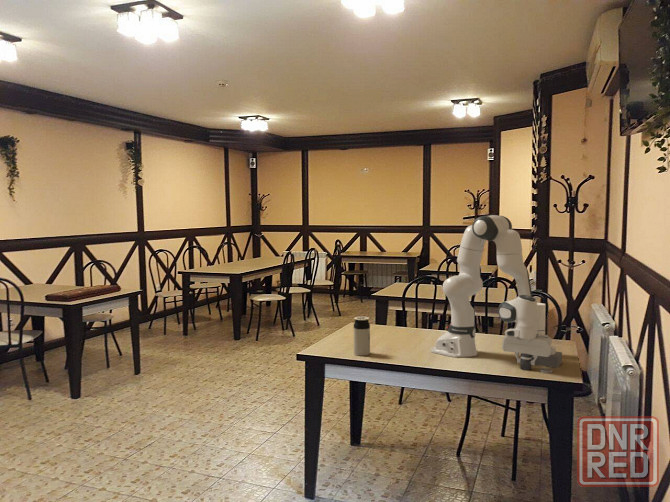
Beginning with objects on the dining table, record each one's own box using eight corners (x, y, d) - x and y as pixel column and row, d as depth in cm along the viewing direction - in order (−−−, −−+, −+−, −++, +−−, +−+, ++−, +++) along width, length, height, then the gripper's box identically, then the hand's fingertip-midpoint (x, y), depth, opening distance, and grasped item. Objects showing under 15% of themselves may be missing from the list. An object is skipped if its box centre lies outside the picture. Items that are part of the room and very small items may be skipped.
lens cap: (538, 372, 221) (538, 370, 220) (541, 369, 225) (541, 367, 225) (550, 374, 218) (550, 372, 218) (553, 371, 222) (553, 369, 222)
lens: (519, 369, 224) (519, 353, 224) (522, 366, 228) (522, 351, 228) (529, 371, 222) (530, 355, 221) (532, 368, 225) (532, 352, 225)
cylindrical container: (543, 357, 243) (544, 305, 242) (527, 355, 247) (528, 304, 245) (545, 354, 249) (546, 303, 248) (530, 352, 253) (531, 302, 252)
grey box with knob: (529, 363, 233) (529, 347, 233) (534, 359, 241) (534, 343, 240) (557, 367, 226) (557, 351, 226) (561, 363, 234) (562, 346, 233)
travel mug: (351, 355, 250) (351, 318, 249) (356, 351, 258) (356, 316, 257) (367, 356, 247) (367, 319, 246) (371, 352, 255) (371, 316, 254)
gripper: (553, 334, 221) (552, 365, 221) (505, 328, 232) (505, 358, 233) (550, 337, 215) (549, 369, 216) (501, 331, 227) (500, 361, 228)
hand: (526, 363), depth 225 cm, fingers closed on lens, 4 cm apart
